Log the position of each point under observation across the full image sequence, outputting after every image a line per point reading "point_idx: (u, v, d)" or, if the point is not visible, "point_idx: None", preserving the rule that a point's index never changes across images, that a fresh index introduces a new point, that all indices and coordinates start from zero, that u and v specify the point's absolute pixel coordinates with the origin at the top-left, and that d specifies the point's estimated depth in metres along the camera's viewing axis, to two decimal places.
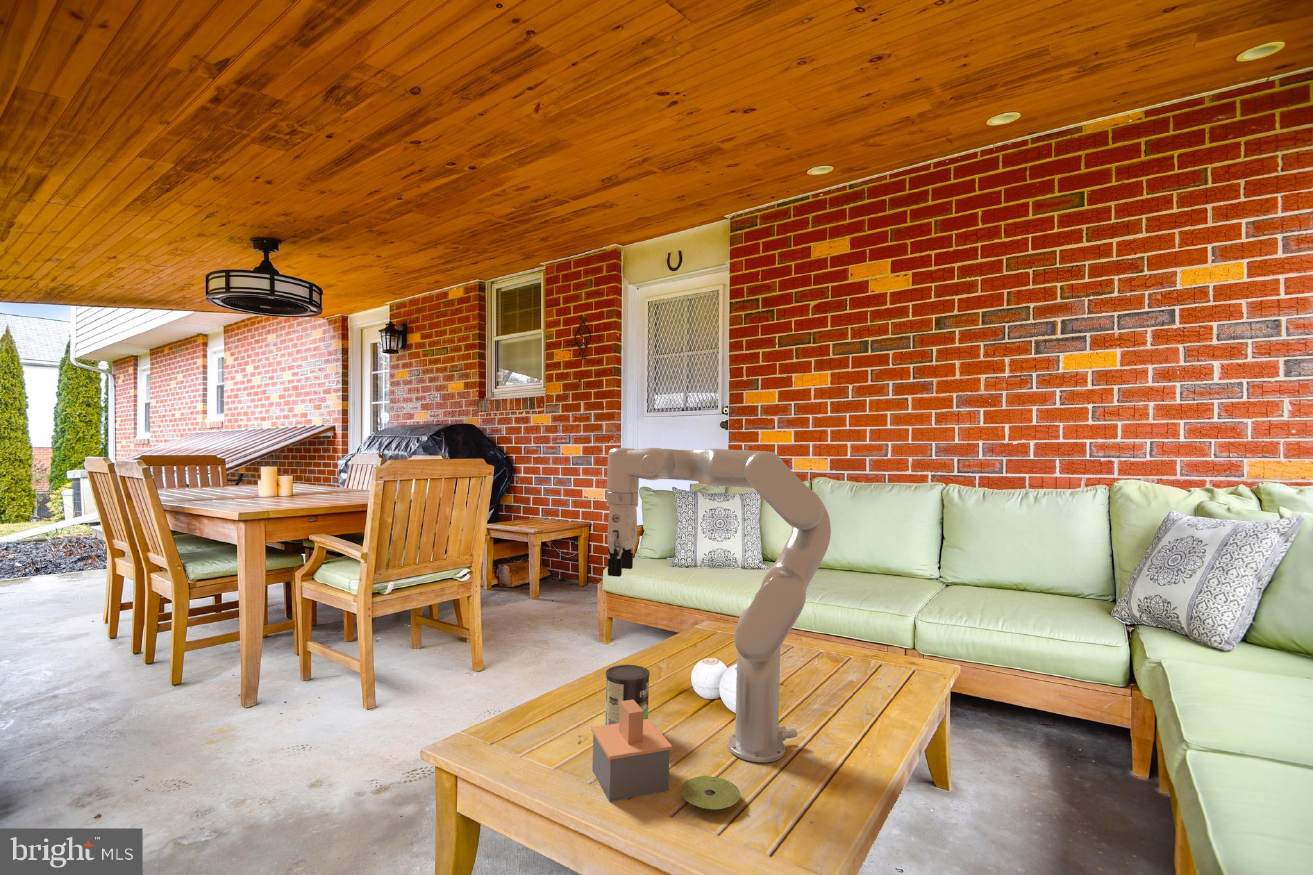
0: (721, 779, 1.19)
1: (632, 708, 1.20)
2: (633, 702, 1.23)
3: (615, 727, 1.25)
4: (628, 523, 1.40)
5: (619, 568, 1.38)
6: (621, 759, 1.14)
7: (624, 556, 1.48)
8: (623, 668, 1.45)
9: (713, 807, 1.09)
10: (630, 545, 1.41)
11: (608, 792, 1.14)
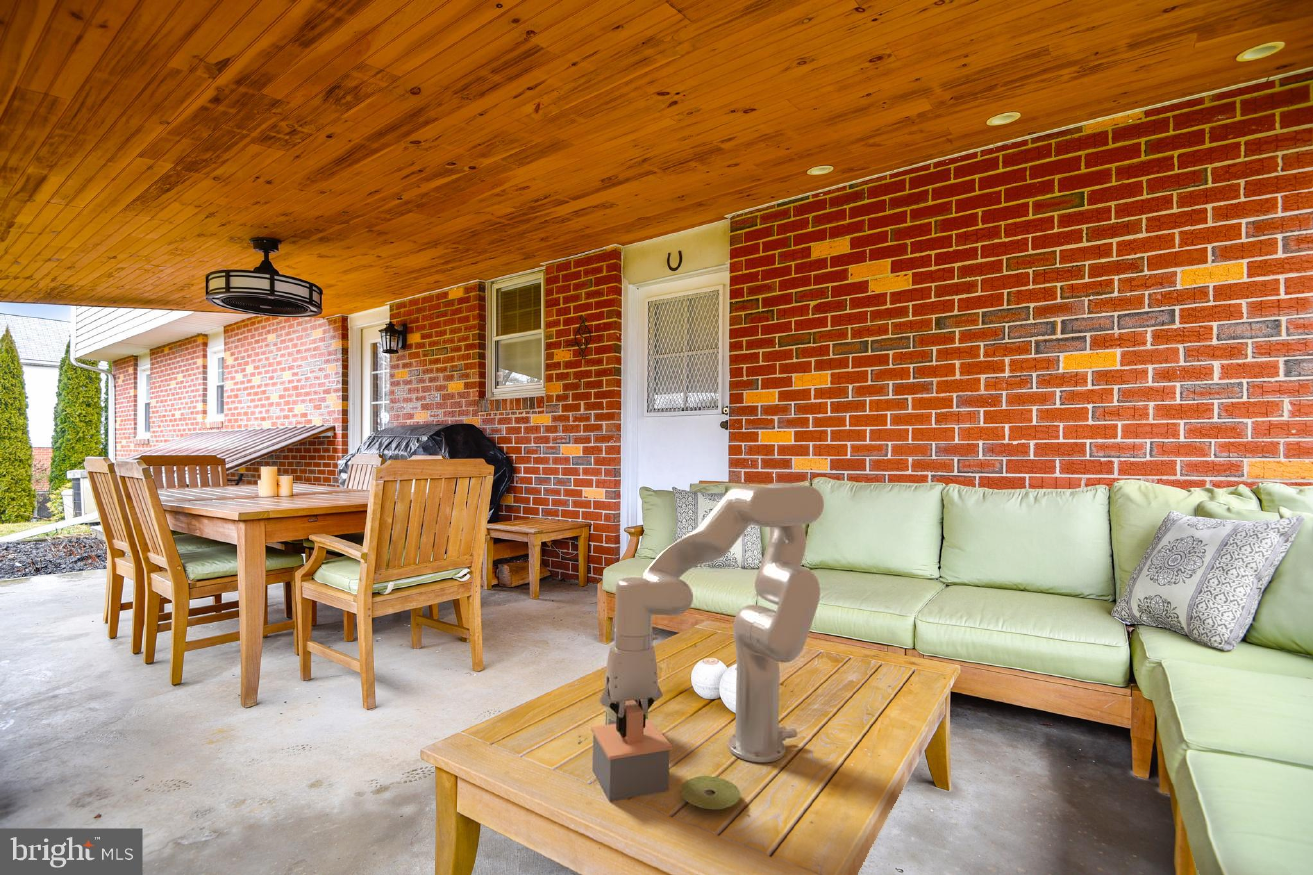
0: (721, 779, 1.19)
1: (632, 708, 1.20)
2: (633, 702, 1.23)
3: (615, 727, 1.25)
4: None
5: None
6: (621, 759, 1.14)
7: None
8: None
9: (713, 807, 1.09)
10: None
11: (608, 792, 1.14)
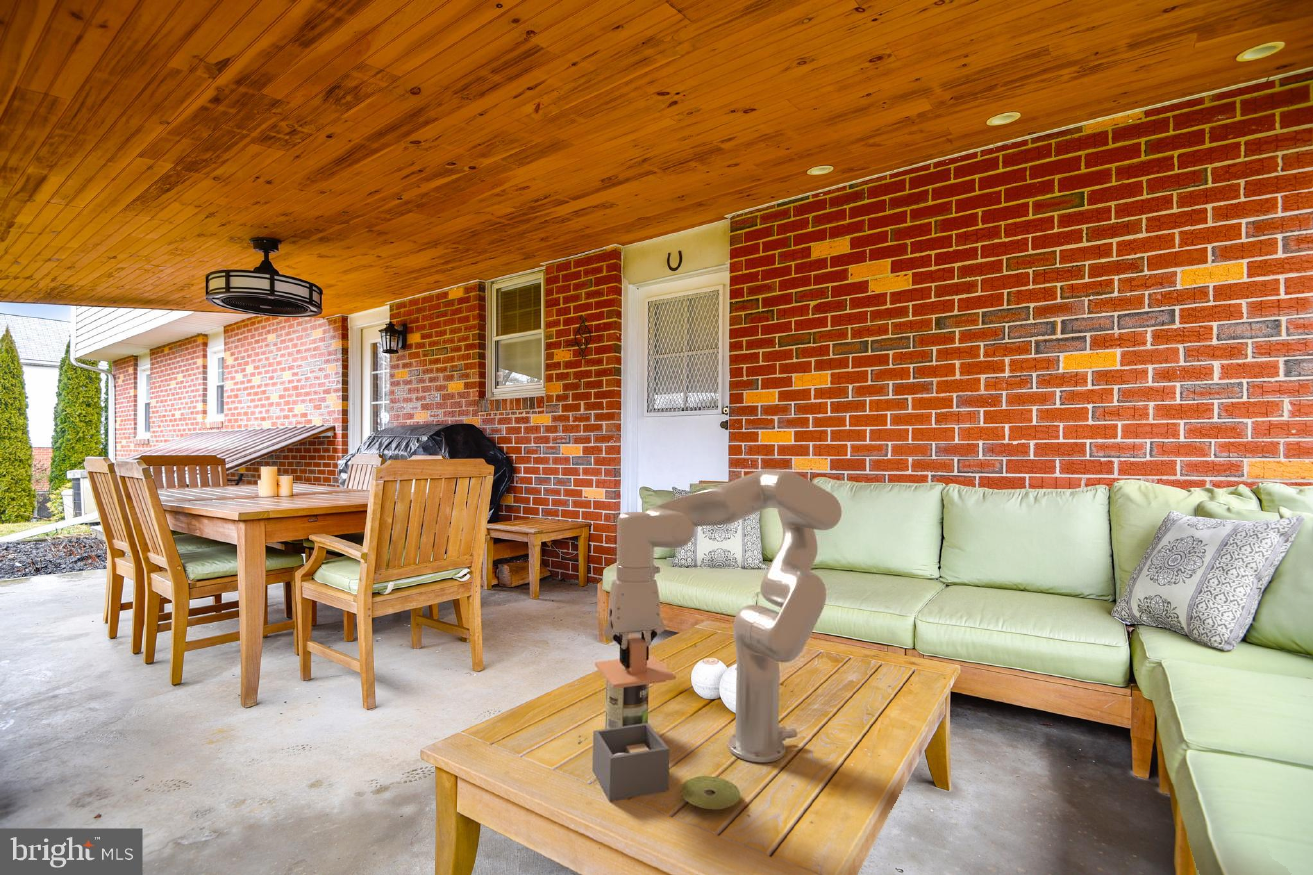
0: (721, 779, 1.19)
1: (635, 640, 1.21)
2: (636, 635, 1.24)
3: (619, 662, 1.26)
4: None
5: None
6: (621, 759, 1.14)
7: None
8: None
9: (713, 807, 1.09)
10: None
11: (608, 792, 1.14)
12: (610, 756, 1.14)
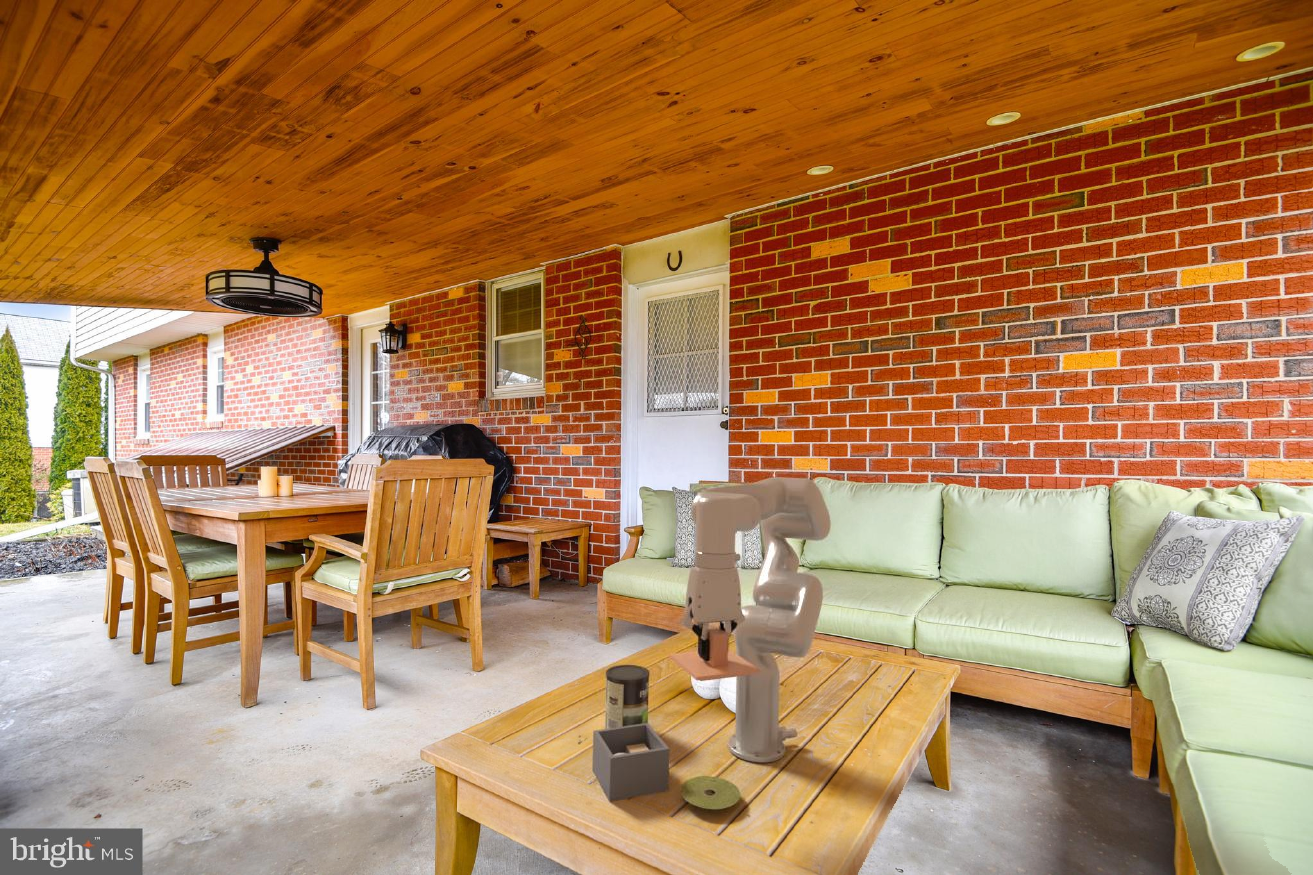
0: (721, 779, 1.19)
1: (715, 631, 1.14)
2: (714, 626, 1.17)
3: (694, 654, 1.19)
4: None
5: None
6: (621, 759, 1.14)
7: None
8: (623, 668, 1.45)
9: (713, 807, 1.09)
10: None
11: (608, 792, 1.14)
12: (610, 756, 1.14)
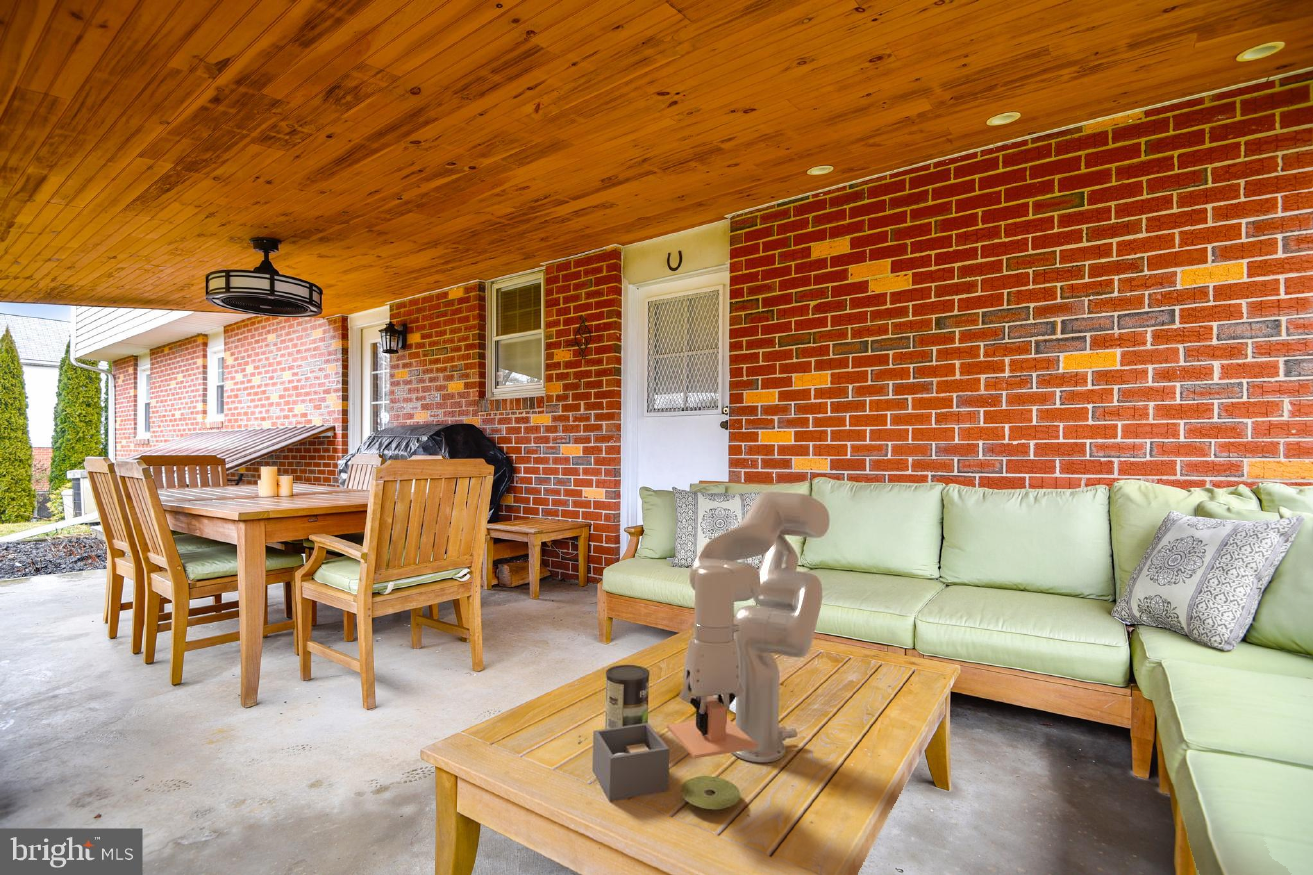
0: (721, 779, 1.19)
1: (714, 704, 1.13)
2: (712, 697, 1.17)
3: (692, 724, 1.18)
4: None
5: None
6: (621, 759, 1.14)
7: None
8: (623, 668, 1.45)
9: (713, 807, 1.09)
10: None
11: (608, 792, 1.14)
12: (610, 756, 1.14)
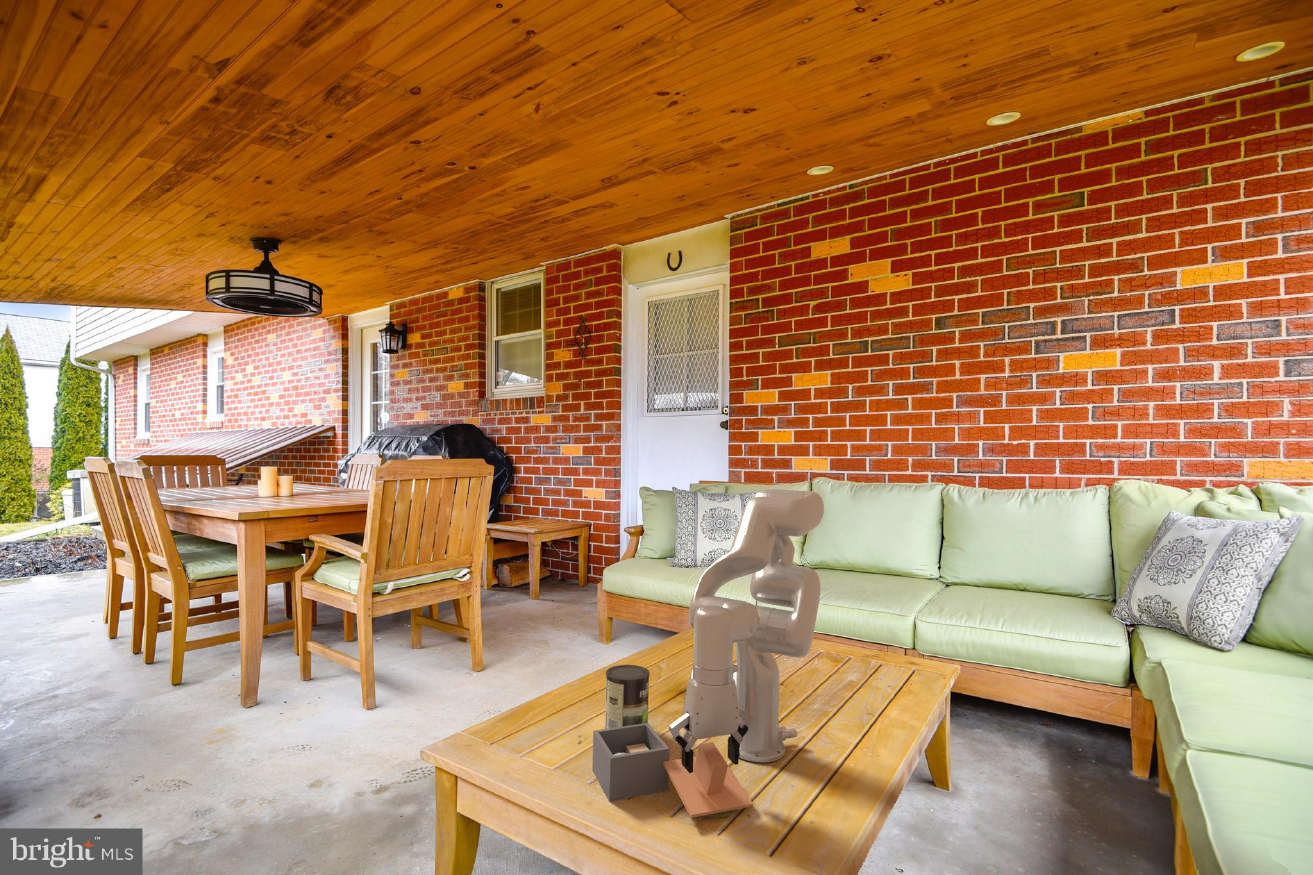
0: None
1: (715, 759, 1.12)
2: (714, 747, 1.15)
3: None
4: None
5: None
6: (621, 759, 1.14)
7: None
8: (623, 668, 1.45)
9: (714, 813, 1.09)
10: None
11: (608, 792, 1.14)
12: (610, 756, 1.14)
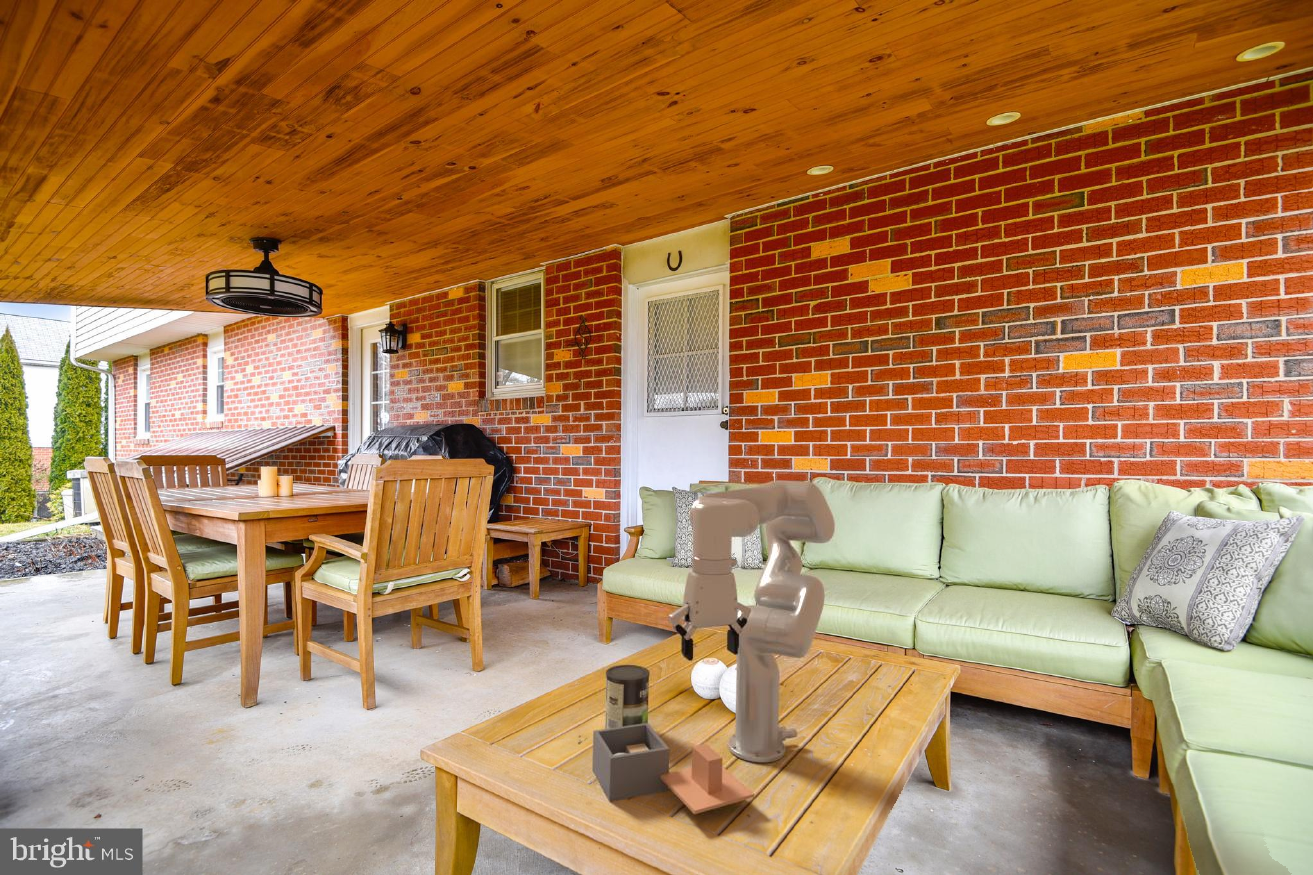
0: None
1: (709, 755, 1.13)
2: (706, 746, 1.16)
3: (686, 774, 1.18)
4: None
5: None
6: (621, 759, 1.14)
7: None
8: (623, 668, 1.45)
9: None
10: None
11: (608, 792, 1.14)
12: (610, 756, 1.14)
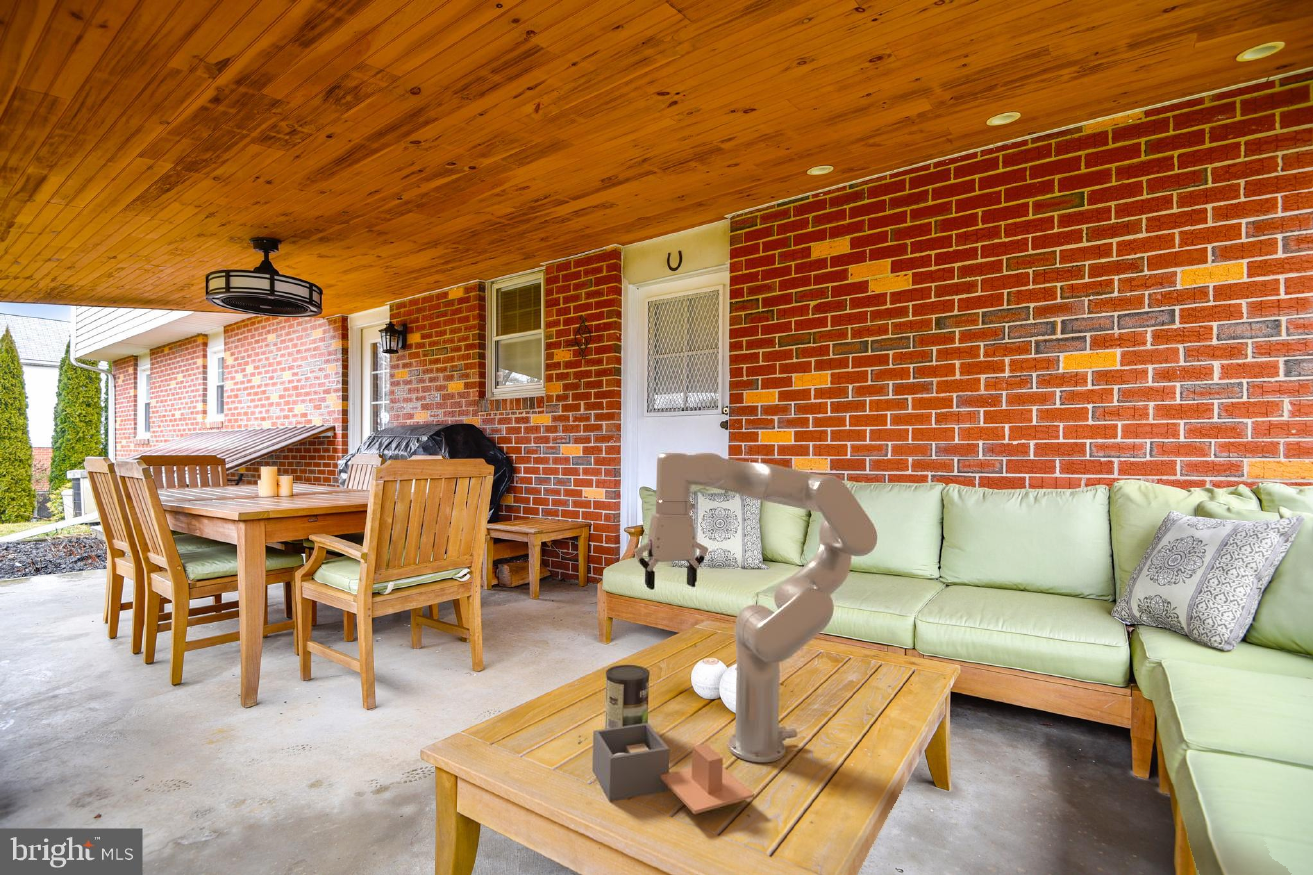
0: None
1: (710, 755, 1.13)
2: (707, 746, 1.16)
3: (686, 773, 1.18)
4: None
5: None
6: (621, 759, 1.14)
7: None
8: (623, 668, 1.45)
9: None
10: None
11: (608, 792, 1.14)
12: (610, 756, 1.14)
